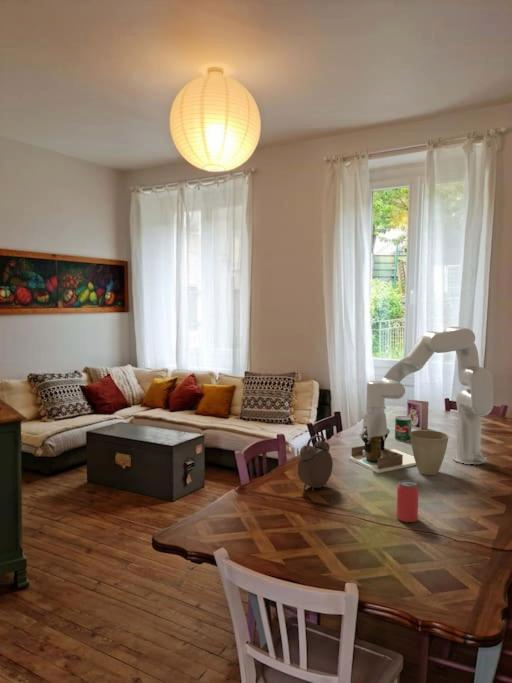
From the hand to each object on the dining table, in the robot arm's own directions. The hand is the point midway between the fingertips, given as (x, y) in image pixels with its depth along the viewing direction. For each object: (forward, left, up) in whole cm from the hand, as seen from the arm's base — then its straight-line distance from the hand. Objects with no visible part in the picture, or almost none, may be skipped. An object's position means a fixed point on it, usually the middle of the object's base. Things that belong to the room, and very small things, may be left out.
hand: (374, 450), depth 217 cm
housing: (0, -1, -4) cm, 5 cm away
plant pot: (-18, -13, -6) cm, 23 cm away
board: (0, -7, -6) cm, 9 cm away
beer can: (-47, +26, -6) cm, 54 cm away
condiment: (0, 0, -5) cm, 5 cm away
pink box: (+36, -61, -6) cm, 71 cm away
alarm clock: (-11, +38, -6) cm, 40 cm away
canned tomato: (+23, -38, -6) cm, 45 cm away
